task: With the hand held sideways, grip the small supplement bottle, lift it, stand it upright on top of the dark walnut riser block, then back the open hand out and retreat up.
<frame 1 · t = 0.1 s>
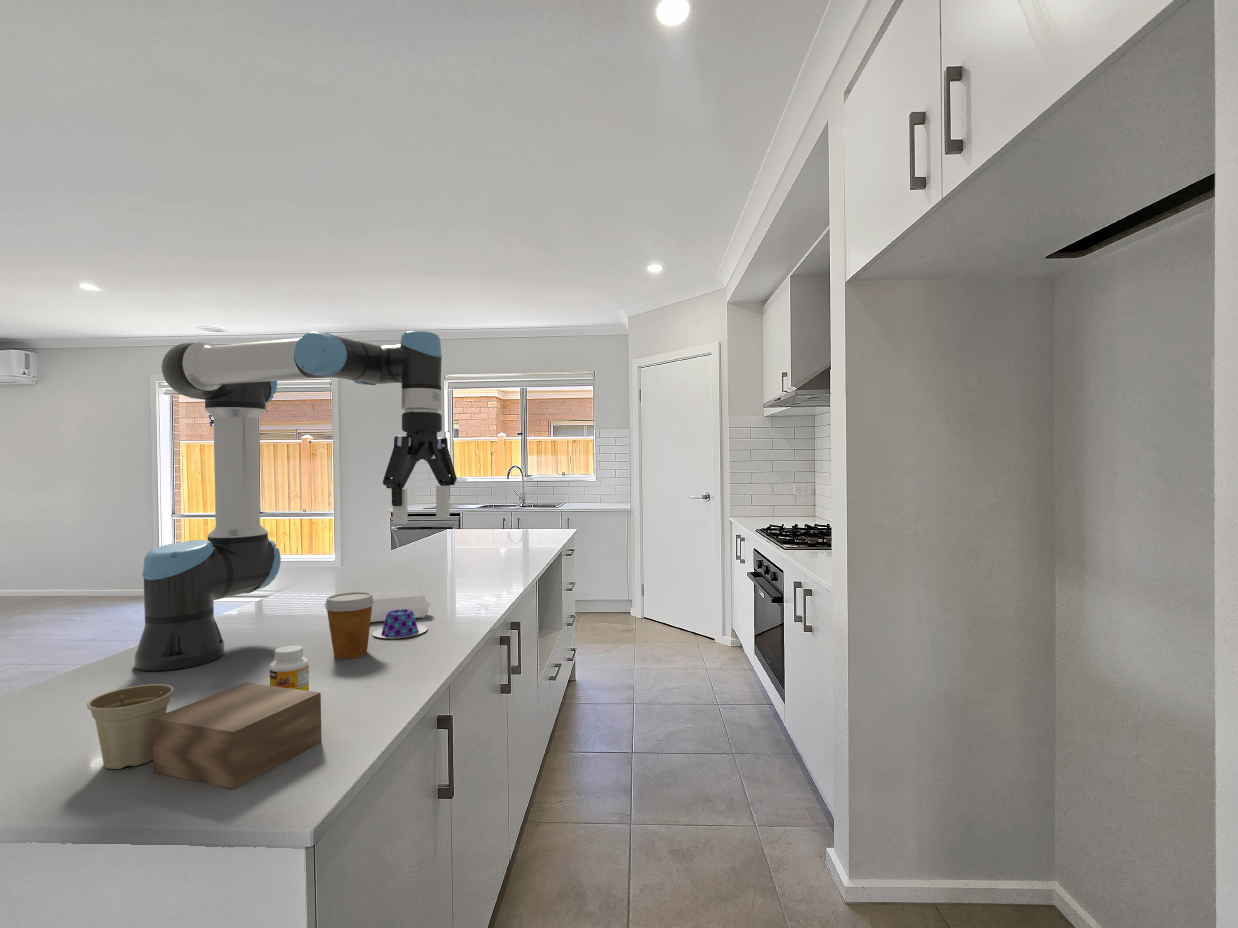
hand: (422, 520, 129), 28 cm above the counter, tool pointing down, fingers open, 13 cm apart
white rectangular box: (380, 621, 164), on the counter
disposable coffee cup: (350, 655, 135), on the counter
supplement bottle: (290, 713, 104), on the counter
walnut riser: (241, 756, 89), on the counter
flower pot: (133, 760, 89), on the counter
pudding: (400, 634, 151), on the counter
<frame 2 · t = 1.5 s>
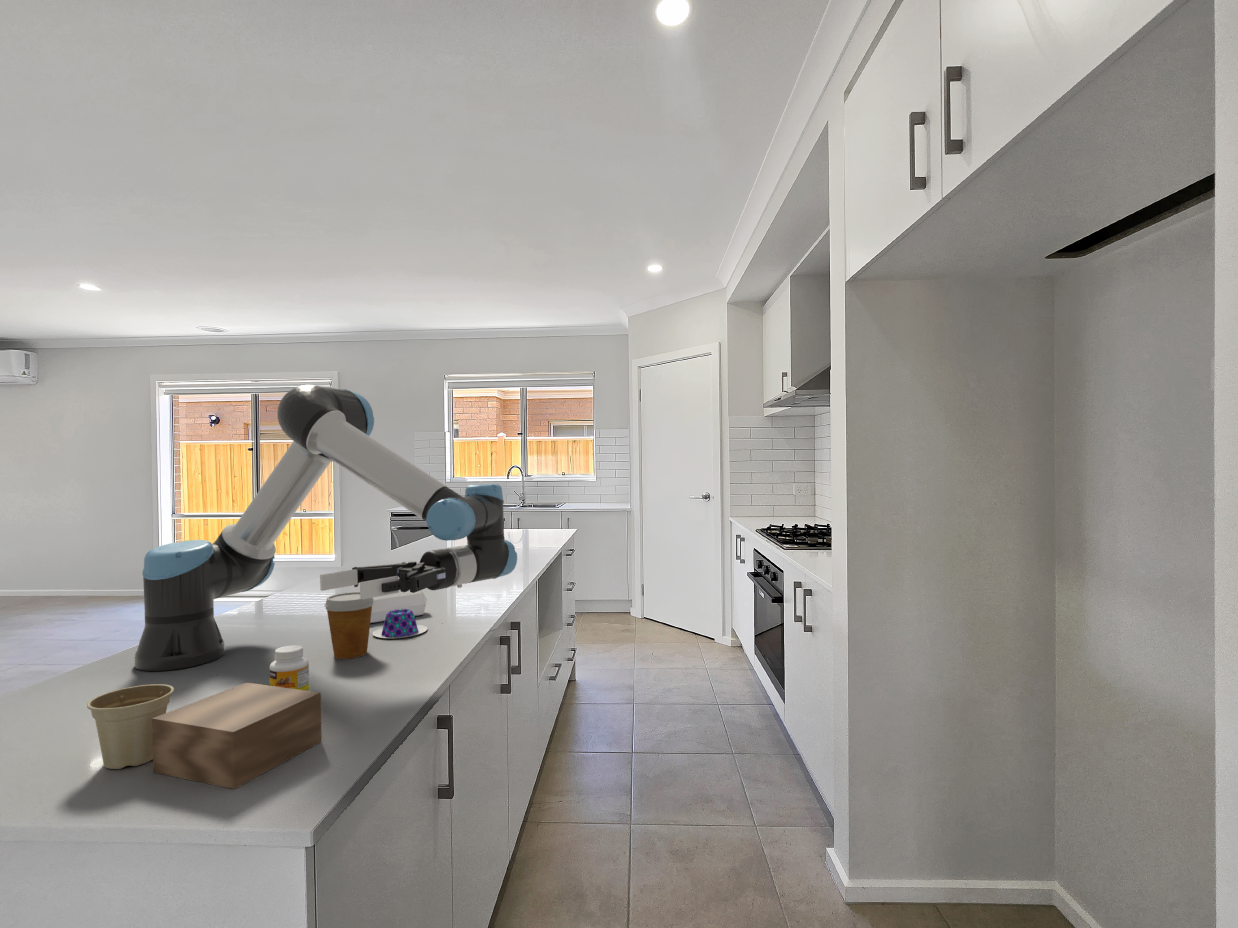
hand: (340, 586, 111), 19 cm above the counter, tool horizontal, fingers open, 13 cm apart
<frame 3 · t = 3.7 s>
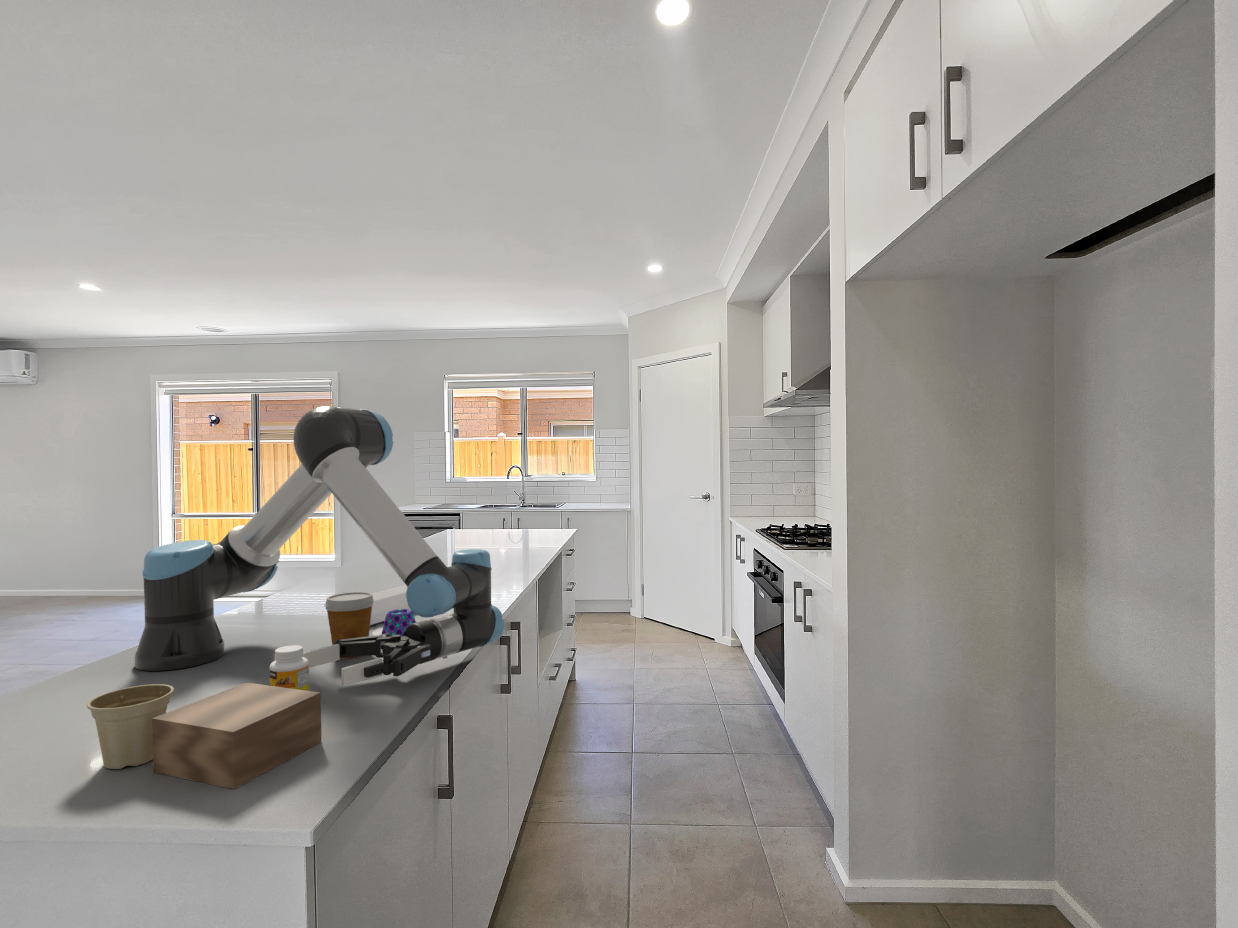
hand: (321, 668, 107), 6 cm above the counter, tool horizontal, fingers open, 13 cm apart
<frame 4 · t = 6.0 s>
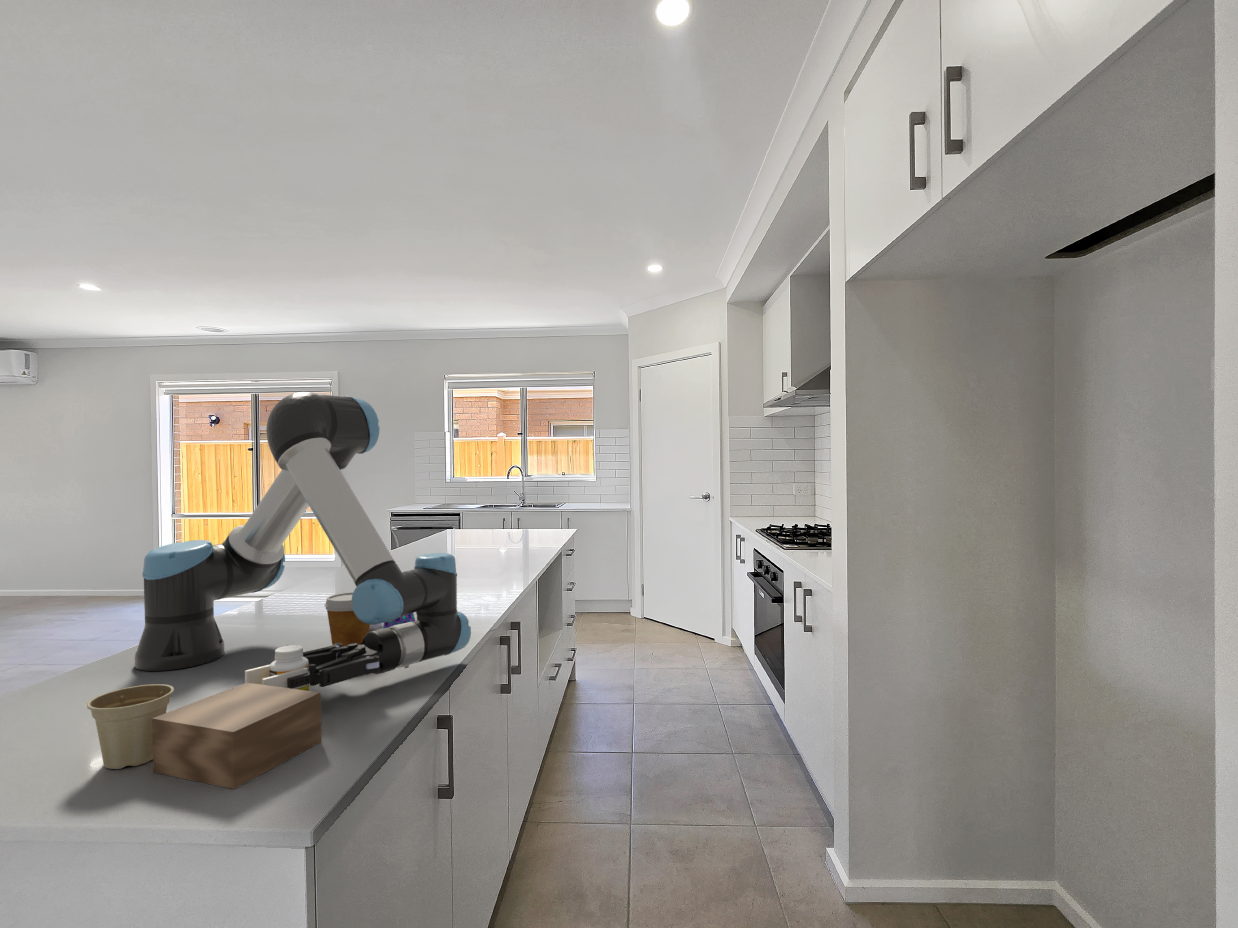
hand: (254, 683, 100), 6 cm above the counter, tool horizontal, fingers closed on supplement bottle, 5 cm apart
supplement bottle: (290, 713, 104), on the counter, touching gripper
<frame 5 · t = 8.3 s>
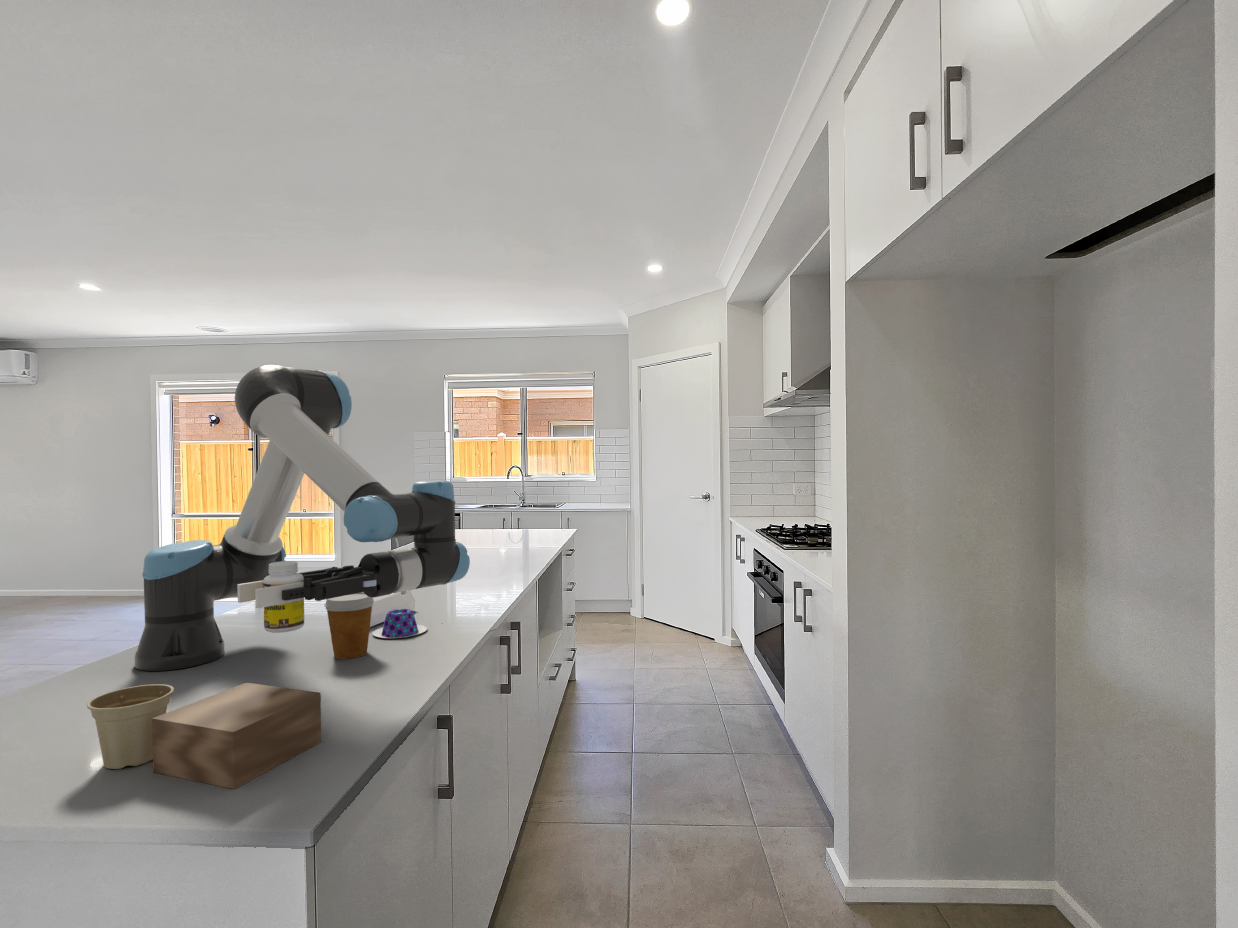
hand: (247, 595, 97), 20 cm above the counter, tool horizontal, fingers closed on supplement bottle, 5 cm apart
supplement bottle: (284, 630, 101), point 14 cm above the counter, touching gripper
when the fingers open (14 cm above the counter, at t = 10.7 s): supplement bottle drops 1 cm, resting on walnut riser.
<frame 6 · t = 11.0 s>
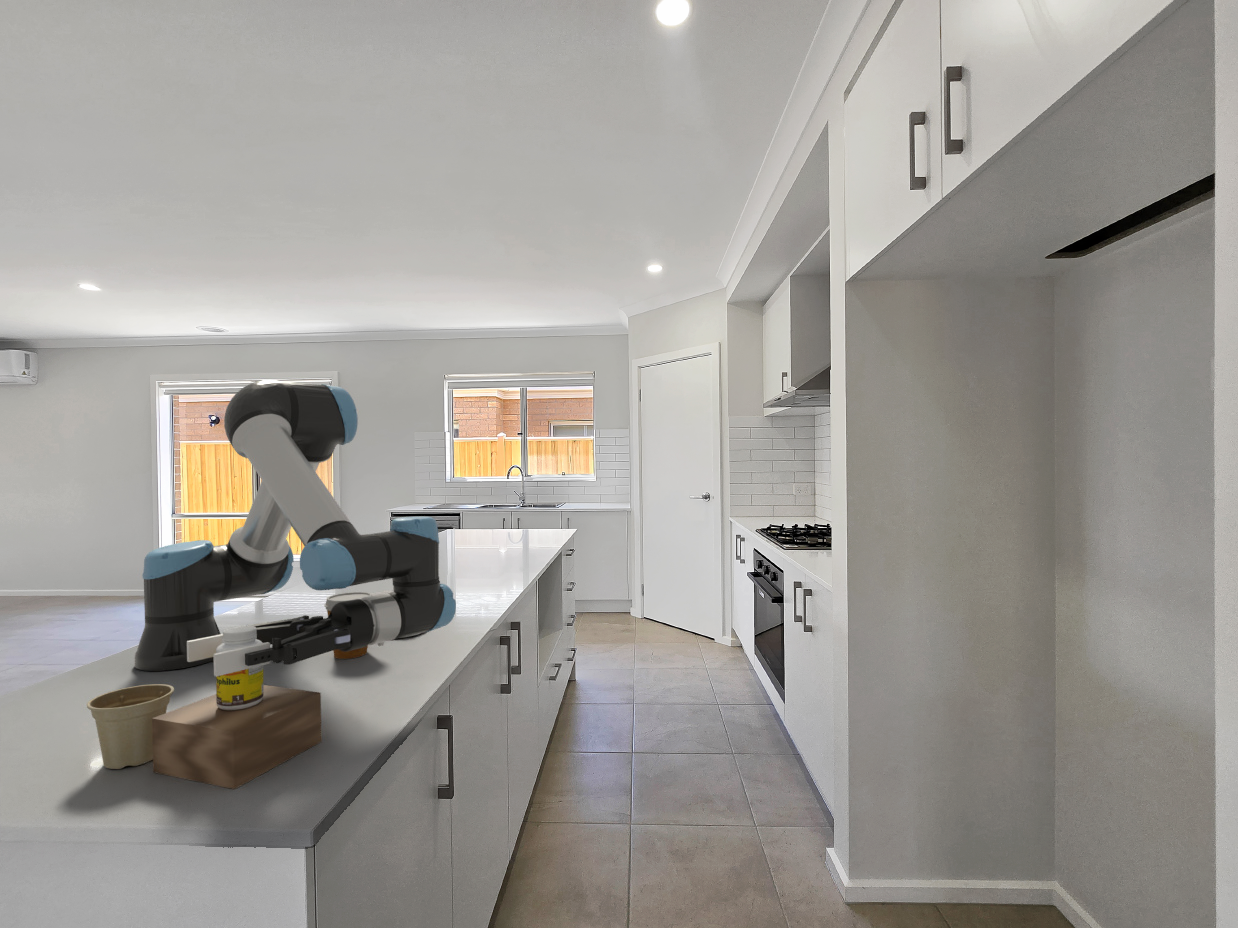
hand: (201, 658, 85), 14 cm above the counter, tool horizontal, fingers open, 9 cm apart
supplement bottle: (240, 705, 89), point 7 cm above the counter, touching walnut riser
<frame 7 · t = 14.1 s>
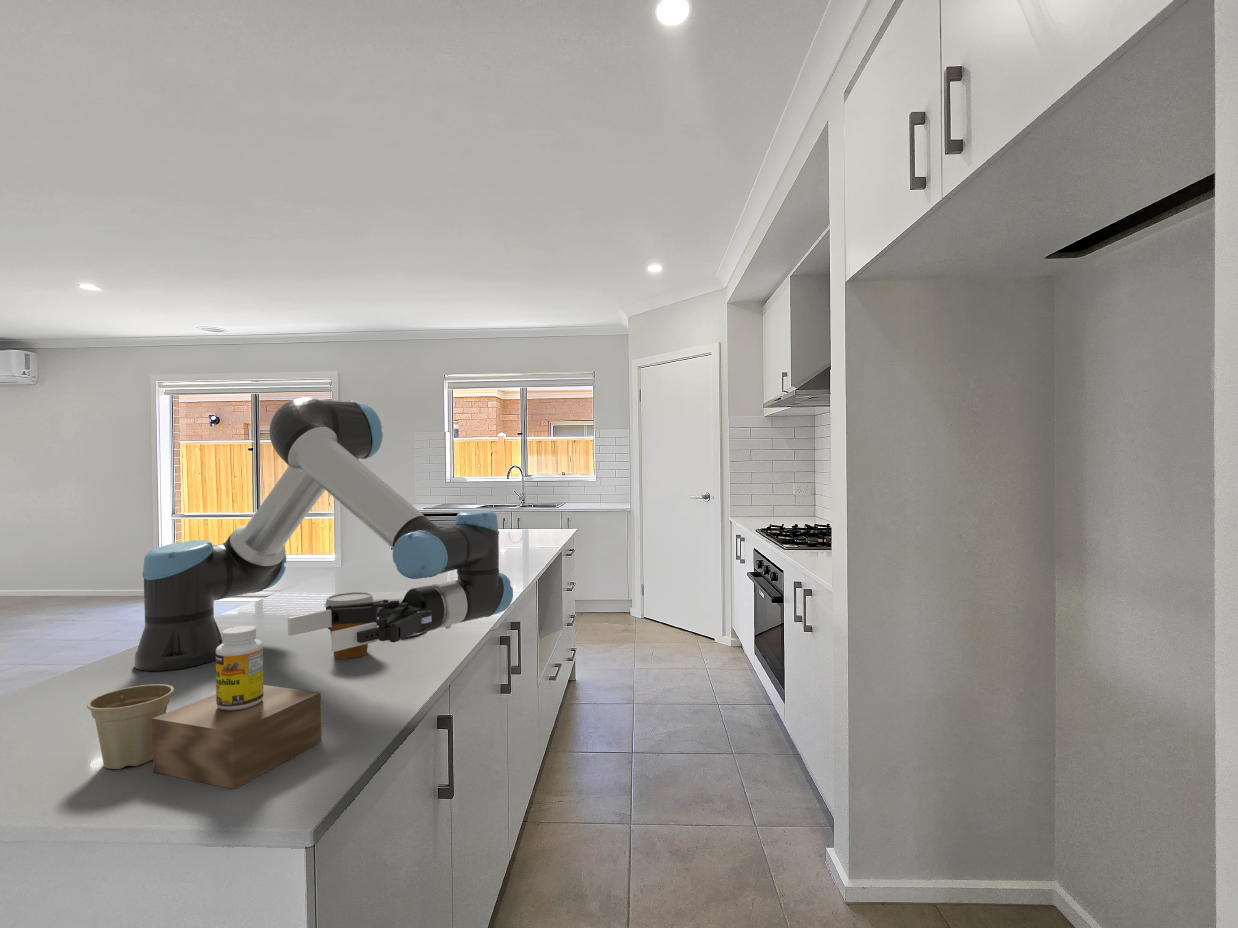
hand: (309, 633, 96), 15 cm above the counter, tool horizontal, fingers open, 13 cm apart
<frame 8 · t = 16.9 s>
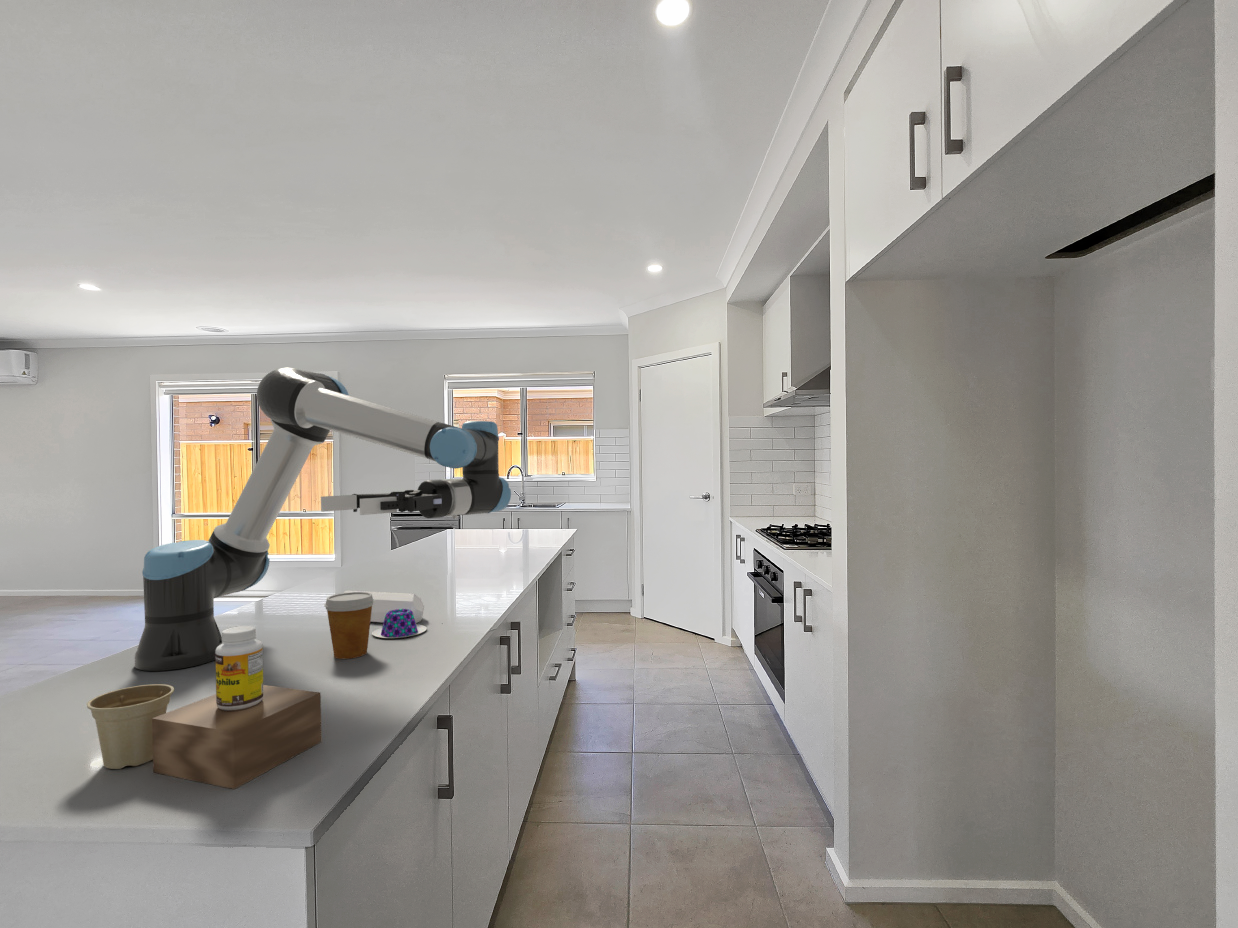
hand: (340, 505, 115), 32 cm above the counter, tool horizontal, fingers open, 13 cm apart
at the end: supplement bottle inside the target area on the walnut riser (0.1 cm from its centre), point 6.8 cm above the walnut riser's base; supplement bottle tilted 0°; the gripper is holding nothing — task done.
